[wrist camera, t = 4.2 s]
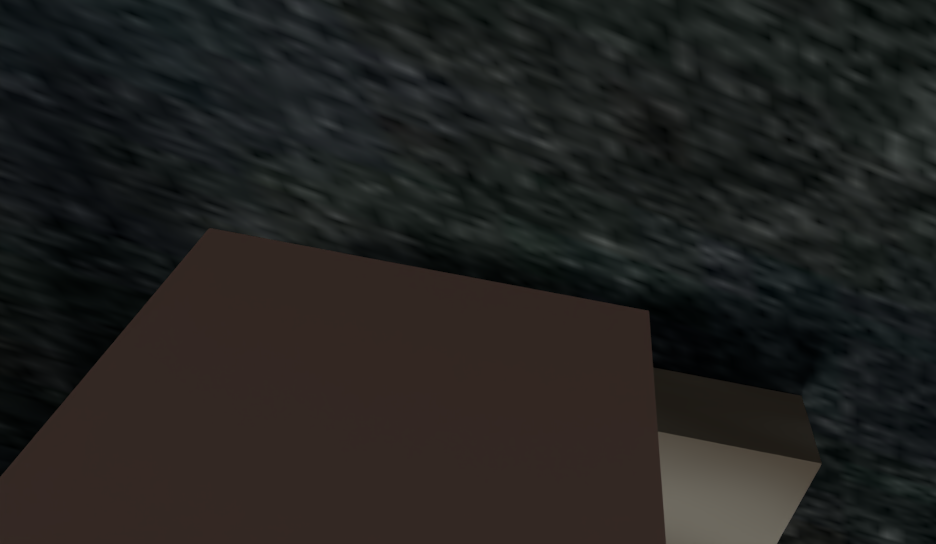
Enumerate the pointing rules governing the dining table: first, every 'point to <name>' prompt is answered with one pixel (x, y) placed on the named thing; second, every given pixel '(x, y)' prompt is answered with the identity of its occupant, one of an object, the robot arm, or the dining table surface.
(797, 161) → the dining table surface
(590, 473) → the terracotta block
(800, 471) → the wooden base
